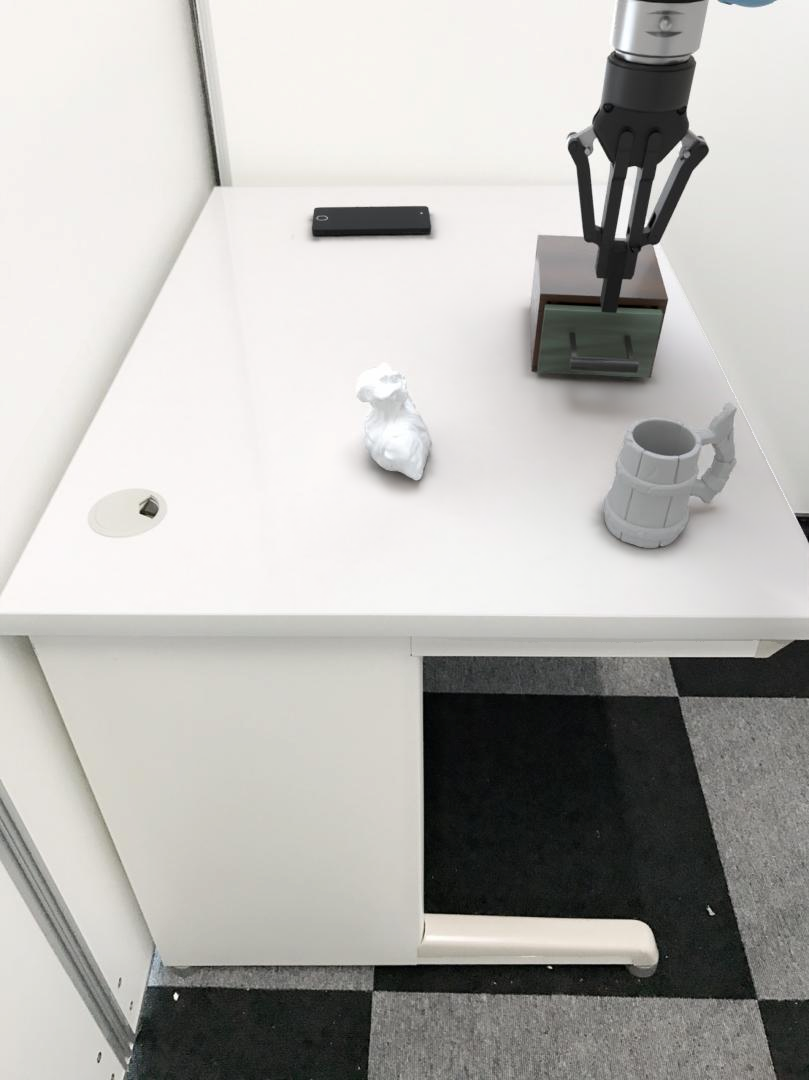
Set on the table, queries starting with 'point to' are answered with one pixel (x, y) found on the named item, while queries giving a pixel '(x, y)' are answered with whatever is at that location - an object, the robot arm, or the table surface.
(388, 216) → the cell phone
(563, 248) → the cabinet
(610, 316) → the drawer
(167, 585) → the table surface
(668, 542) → the mug
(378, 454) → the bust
